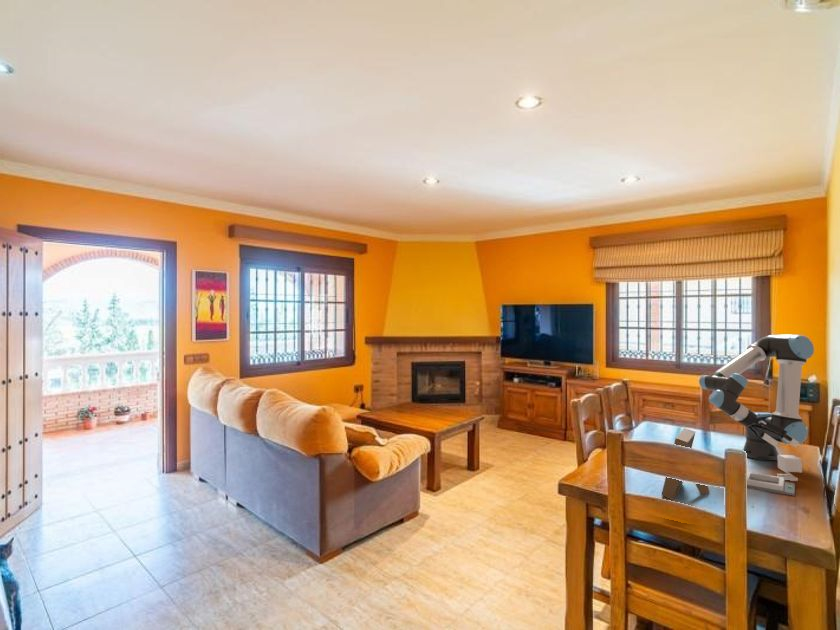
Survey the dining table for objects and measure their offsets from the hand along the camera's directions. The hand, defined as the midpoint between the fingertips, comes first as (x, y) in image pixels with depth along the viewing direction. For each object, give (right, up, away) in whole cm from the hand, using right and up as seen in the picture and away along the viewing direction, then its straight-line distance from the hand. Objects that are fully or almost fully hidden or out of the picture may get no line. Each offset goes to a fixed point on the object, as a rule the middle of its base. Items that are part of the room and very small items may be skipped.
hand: (786, 444), depth 202 cm
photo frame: (-59, -14, -21) cm, 65 cm away
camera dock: (-22, -13, -14) cm, 29 cm away
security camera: (-4, -14, -7) cm, 16 cm away
